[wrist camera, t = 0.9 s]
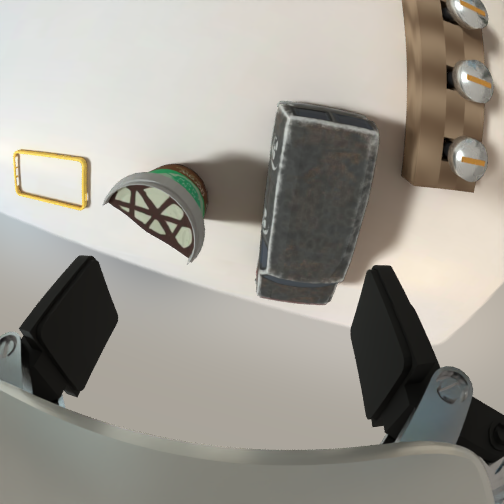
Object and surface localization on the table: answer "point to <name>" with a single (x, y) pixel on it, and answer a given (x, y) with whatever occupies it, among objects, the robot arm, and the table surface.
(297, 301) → the toy van
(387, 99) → the table surface
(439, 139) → the knob console
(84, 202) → the phone case
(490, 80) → the middle knob
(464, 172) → the knob
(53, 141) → the table surface
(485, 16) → the knob
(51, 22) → the table surface
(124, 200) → the food container
